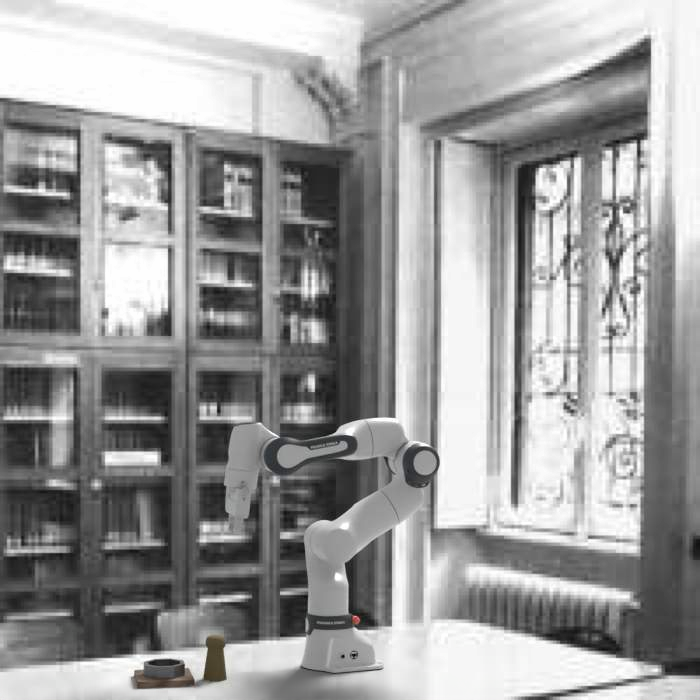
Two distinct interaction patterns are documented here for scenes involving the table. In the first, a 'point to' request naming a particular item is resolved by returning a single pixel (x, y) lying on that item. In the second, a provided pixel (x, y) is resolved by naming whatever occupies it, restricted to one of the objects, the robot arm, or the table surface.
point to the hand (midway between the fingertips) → (234, 532)
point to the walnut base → (163, 680)
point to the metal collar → (164, 669)
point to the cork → (215, 659)
